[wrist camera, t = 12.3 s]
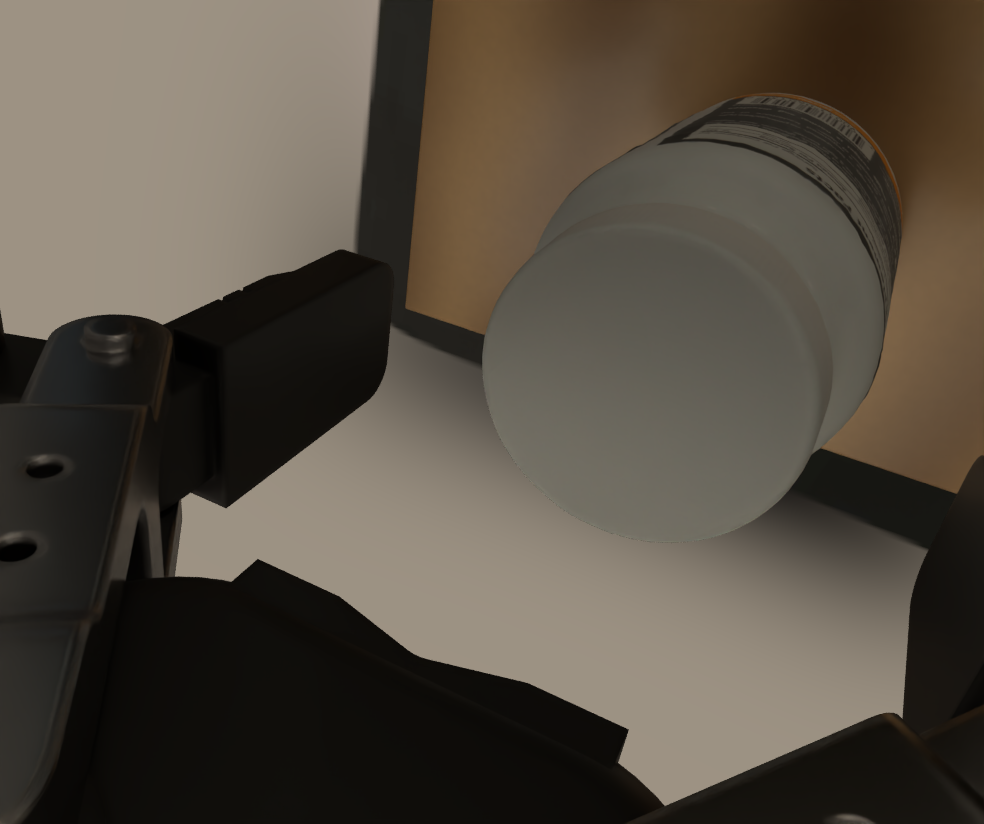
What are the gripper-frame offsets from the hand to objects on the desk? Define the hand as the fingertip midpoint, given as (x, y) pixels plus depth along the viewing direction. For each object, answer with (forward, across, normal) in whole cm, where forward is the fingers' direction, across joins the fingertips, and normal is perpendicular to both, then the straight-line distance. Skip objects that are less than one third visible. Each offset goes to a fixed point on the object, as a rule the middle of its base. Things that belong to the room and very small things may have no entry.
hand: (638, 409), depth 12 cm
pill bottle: (+10, 0, 0) cm, 10 cm away
